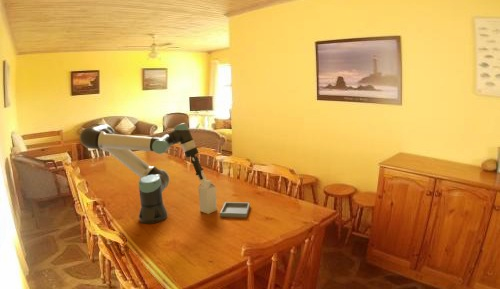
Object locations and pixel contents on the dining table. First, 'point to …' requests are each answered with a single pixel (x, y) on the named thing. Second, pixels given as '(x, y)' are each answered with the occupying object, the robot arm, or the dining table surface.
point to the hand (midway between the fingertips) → (204, 182)
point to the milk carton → (207, 197)
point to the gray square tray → (235, 209)
